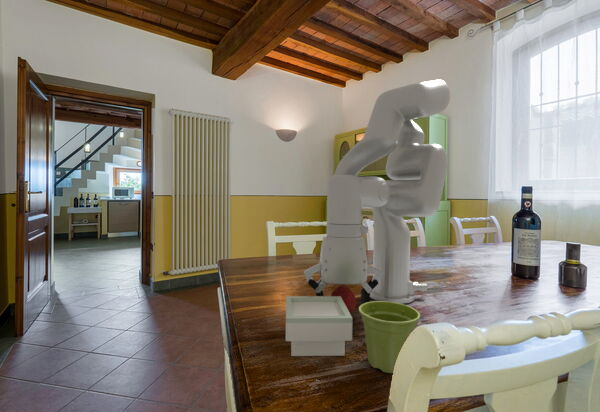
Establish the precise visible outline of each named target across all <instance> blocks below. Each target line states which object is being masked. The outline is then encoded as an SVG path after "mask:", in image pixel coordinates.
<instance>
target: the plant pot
mask: <svg viewBox="0 0 600 412" xmlns="http://www.w3.org/2000/svg"><path fill="white" fill-rule="evenodd" d="M358 312H359V314H360V315H361V321H362V323H363V327H364V328H363V329H364V334H365V342H366V350H367V351H366V352H367V358H368V359H367V360H368V361H367V362H368V363H369V364H370V365H371V367H372V368H374V369H379V370H381V371H382V372H383V373H386V374H394V373H393V369H394V365H395V362H396V359H397V357H398V354H399V352H400V350H401V348H402V346H403V344H404V342H405V341H406V339H407V337H408V336H409V334H410V333H411V332H412V331H413V330H415V329H416V327H417V324H418V323H417V322H418V321H419V320H420V318H421V313H420V311H418V310H417V309H415V308H413V307H412V306H410V305H407V304H405V303H403V304H400V303H395V302H388V301H377V300H372V301H371V300H370V302H367V303H364V304H362V305H361V304H360V305H359V306H358Z"/></svg>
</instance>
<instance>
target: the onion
mask: <svg viewBox="0 0 600 412" xmlns="http://www.w3.org/2000/svg"><path fill="white" fill-rule="evenodd" d="M330 296H341V298H342V300H343V302H344V303H345V305H346V307H347V309H348V311H349V313H350V314H351V315H352V313H353V312H354V311H355V309H356V306H357V302H356V301H357V300H356V296H355V294H354V292H353V291H352V290H351V289H350V288H348V287H347V285H339V286H338V287H337V288H335V289H334V290H333V291H332V293H331V295H330Z"/></svg>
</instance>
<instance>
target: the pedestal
mask: <svg viewBox="0 0 600 412" xmlns="http://www.w3.org/2000/svg"><path fill="white" fill-rule="evenodd" d="M349 341H350V342H351V341H353V317H352V313H351V314H350V313H349V311H348V309H347V307H346V305H345V303H344V302H343V300H342V298H341V296H331V295H327V296H326V295H325V296H324V295H323V296H316V295H315V296H313V295H312V296H309V295H305V296H302V295H301V296H300V295H299V296H296V295H295V296H293V295H291V296H290V295H289V296H287V295H286V296H285V342H290V351H291V352H290V355H291V357H320V356H321V357H328V356H329V357H331V356H340V357H341V356H345V355H346V354H345V352H346V351H345V349H346V348H345V347H346V345H345V344H346V342H349Z"/></svg>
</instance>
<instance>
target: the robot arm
mask: <svg viewBox="0 0 600 412" xmlns="http://www.w3.org/2000/svg"><path fill="white" fill-rule="evenodd" d="M450 99H451V92H450V89H449V86H448V84H447V83H446V82H445V81H444V80H442V79H435V80H428V81H421V82H416V83H412V84H407V85H404V86H399V87H396V88H392V89H389V90H386V91H384V92H382V93H381V94H379V96H378V97H377V98H376V100H375V103H374V105H373V108H372V111H371V114H370V117H369V120H368V123H367V126H366V128H365V131H364V134H363V137H362V138H361V139H360V140H359V141H358V142H357V143H356V144H354V146H353V147H351V149H349V150H348V152H346V153H345V155H344V156H343V157H342V158H341V159H340V161H339V162H338V164H337V167H336V168H335V172H334V175H331V176H329V178H328V180H327V189H326V190H327V192H326V193H327V195H326V197H327V198H326V200H327V201H326V236H323V237H322V240H321V245H320V255H319V263H317V264H314V265H313V266H311V267H309V268H307V269H305V270H304V271H303V275H304V276H305V279H306V281H307V283H308V285H309V286H310V287H311V288H312V289H313V290H314V291H315V296H324V292H323V290H324V289H325V287H326V286H327V285H335V286H337V285H339V286H340V285H346V286H348V285H349V286H350V285H354V286H355V285H361V286H362V289H361V290H360V305H362V304H364V303H367V302H371V299H372V300H373V301H388V302H395V303H400V304H409V303H413V302H414V301H415V300H416V294H415V293H417V291H420V292H427V291H428V289H429V288H428V284H427V283H419V282H418V281H412V280H411V279H410V270H411V269H410V266H411V264H410V263H411V231H410V228H409V226H408V224H407V222H406V220H405V219H404V217H411V218H412V217H413V218H417V217H418V218H419V217H420V218H424V217H425V218H428V217H429V218H430V217H432V216H434V215H435V214H436V213H437V212H438V209H439V208H440V203H441V199H442V196H443V190H444V186H445V181H446V177H447V173H448V165H449V163H448V162H449V159H448V154H447V151H446V150H445V147H443V146H442V145H440V144H437V143H426V144H424V143H425V138H426V137H425V133H424V131H423V130H422V128H421V127H420V126H419V125H418V124H417V123H416V122H415V121H414V120H418V119H423V118H428V117H432V116H434V115H437V114H440V113H443V112H444V111H445V110H446V109H447V108H448V106H449V104H450ZM386 156H387V159H386V164H385V173H386V176H387V177H388V178H389V179H390V180H389V179H388V180H385V179H384V178H383V177H380V176H374V175H372V176H371V175H369V176H358V175H359V173H360V172H361V171H363V169H365V168H366V167H367V166H369V165H371V164H373V163H375V162H377V161H379V160H381V159H382V158H384V157H386ZM362 209H371V210H372V217H373V253H372V255H373V257H372V258H373V260H372V265H373V266H372V265H370V264H368V257H367V247H366V243H365V238H364V237H363V234H366V233H368V232H369V228H368V226H364V225H363V224H362V218H363V217H362V213H363V212H362V211H363V210H362ZM317 272H318V274H319V278H320V279H319V280H318V281H317V282H316V280H315V279H314V278H313V275H314V274H316V273H317ZM368 272H370V273H371V274H372V278H371V279H370V280H369V281H368ZM367 281H368V282H367Z"/></svg>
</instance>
